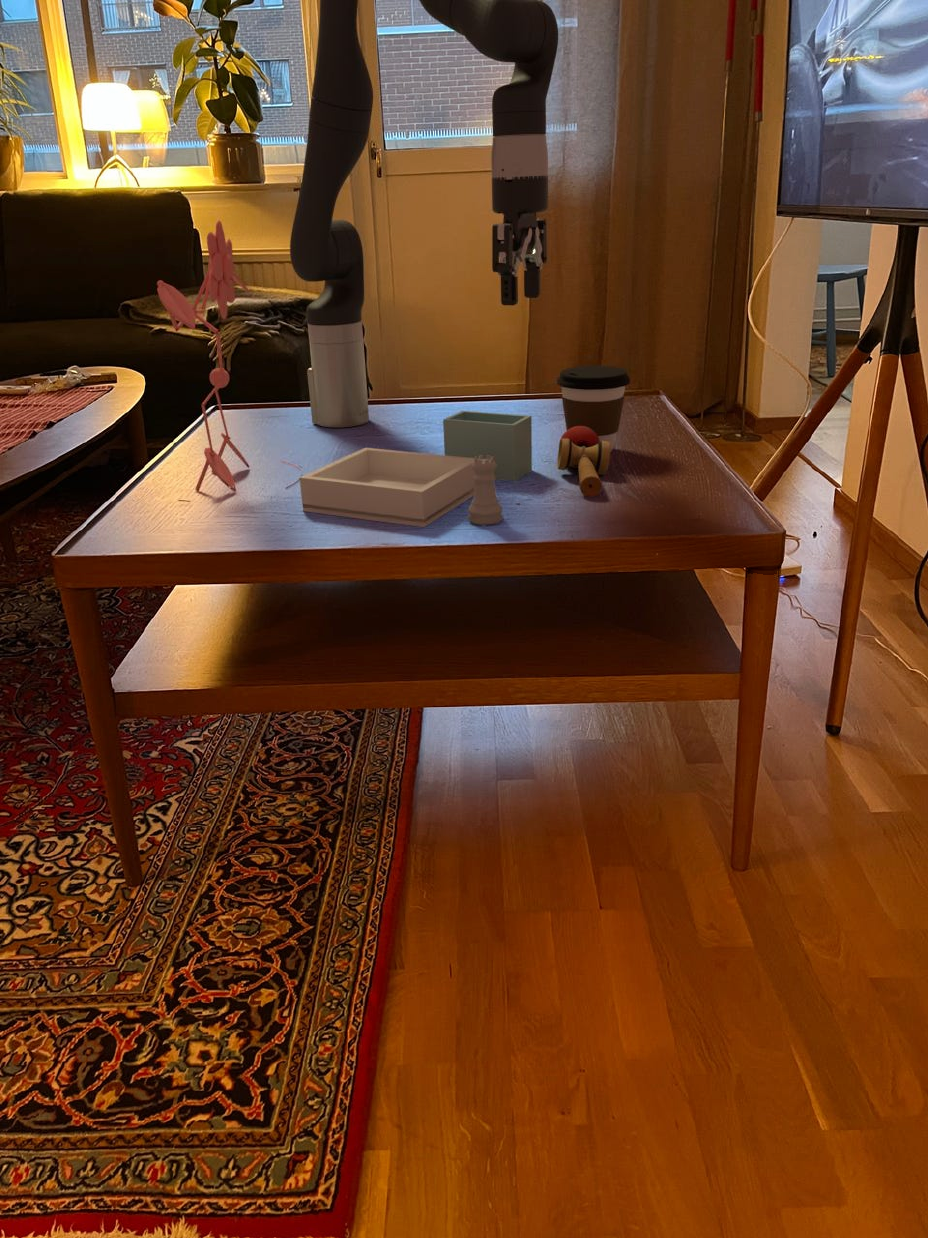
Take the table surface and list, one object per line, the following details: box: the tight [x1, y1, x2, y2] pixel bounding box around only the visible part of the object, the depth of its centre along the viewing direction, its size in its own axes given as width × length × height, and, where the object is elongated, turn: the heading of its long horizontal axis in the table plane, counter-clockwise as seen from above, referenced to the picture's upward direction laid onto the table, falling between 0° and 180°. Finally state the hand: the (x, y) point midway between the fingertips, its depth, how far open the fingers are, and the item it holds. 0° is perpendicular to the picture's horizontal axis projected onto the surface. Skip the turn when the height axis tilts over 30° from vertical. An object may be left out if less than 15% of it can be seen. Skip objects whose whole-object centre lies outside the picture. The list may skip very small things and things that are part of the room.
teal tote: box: [442, 410, 533, 482], centre depth 140 cm, size 11×6×8 cm, turn 63°
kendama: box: [556, 426, 611, 498], centre depth 136 cm, size 8×6×18 cm
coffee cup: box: [556, 365, 631, 453], centre depth 148 cm, size 11×11×12 cm
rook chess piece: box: [467, 455, 504, 527], centre depth 120 cm, size 4×4×8 cm
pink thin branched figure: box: [156, 220, 303, 503], centre depth 134 cm, size 15×26×35 cm, turn 179°
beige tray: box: [299, 447, 475, 528], centre depth 129 cm, size 18×16×4 cm
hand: (521, 301), depth 137 cm, fingers open, 8 cm apart
